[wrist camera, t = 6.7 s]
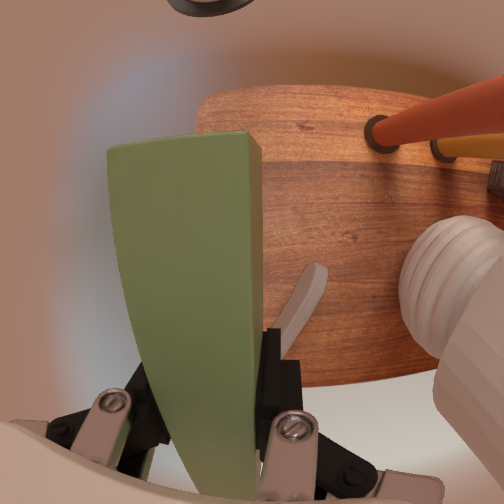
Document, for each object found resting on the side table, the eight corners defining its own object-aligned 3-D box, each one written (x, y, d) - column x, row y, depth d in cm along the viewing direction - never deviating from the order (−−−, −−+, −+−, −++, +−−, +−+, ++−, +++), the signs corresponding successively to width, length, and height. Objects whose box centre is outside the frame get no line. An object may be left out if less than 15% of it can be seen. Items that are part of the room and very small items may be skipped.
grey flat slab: (269, 351, 47) (267, 382, 39) (258, 347, 47) (254, 378, 39) (324, 259, 41) (335, 281, 33) (312, 253, 41) (320, 273, 33)
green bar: (213, 445, 13) (200, 497, 10) (172, 152, 8) (104, 147, 5) (262, 449, 13) (257, 503, 9) (261, 146, 8) (249, 129, 4)
